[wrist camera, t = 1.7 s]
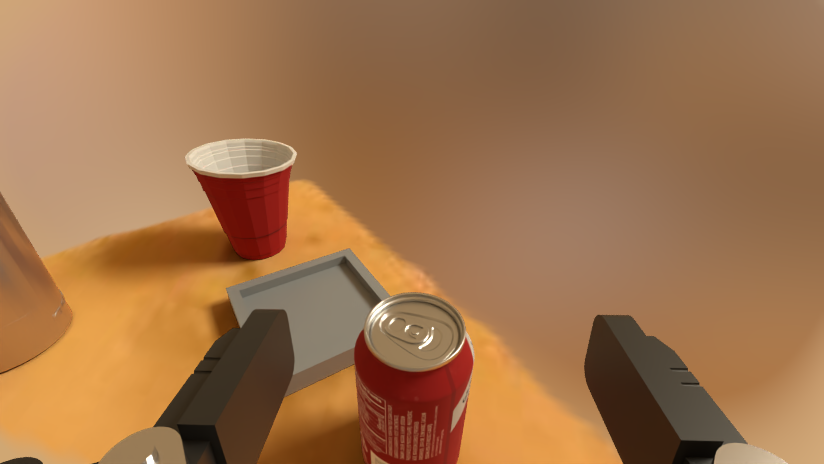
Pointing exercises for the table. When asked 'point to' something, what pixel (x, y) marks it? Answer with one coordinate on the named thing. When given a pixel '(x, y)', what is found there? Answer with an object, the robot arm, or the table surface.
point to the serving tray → (315, 310)
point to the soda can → (412, 380)
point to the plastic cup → (247, 191)
